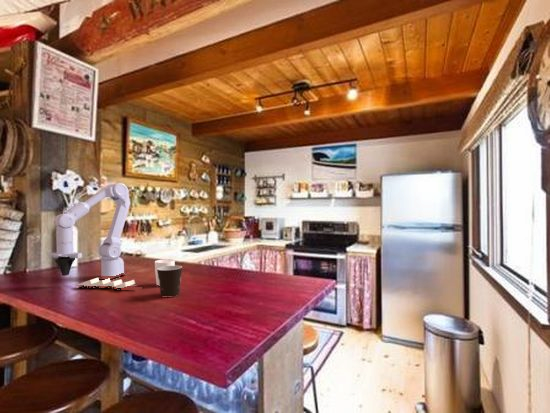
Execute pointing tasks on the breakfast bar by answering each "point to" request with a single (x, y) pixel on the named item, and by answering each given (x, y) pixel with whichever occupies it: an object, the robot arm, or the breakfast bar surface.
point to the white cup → (161, 264)
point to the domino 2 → (100, 282)
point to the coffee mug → (169, 280)
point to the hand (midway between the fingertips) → (65, 275)
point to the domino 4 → (125, 284)
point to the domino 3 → (112, 283)
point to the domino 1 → (89, 282)
